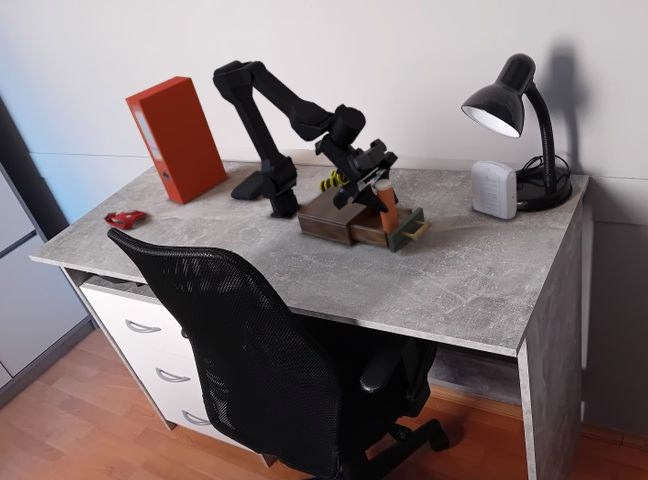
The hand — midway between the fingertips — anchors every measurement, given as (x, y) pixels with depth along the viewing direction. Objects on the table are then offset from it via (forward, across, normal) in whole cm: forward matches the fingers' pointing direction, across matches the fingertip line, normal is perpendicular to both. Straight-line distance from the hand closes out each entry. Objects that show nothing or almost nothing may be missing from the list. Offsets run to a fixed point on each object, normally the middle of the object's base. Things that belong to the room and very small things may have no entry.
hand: (392, 207), depth 119 cm
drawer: (+4, 0, +6) cm, 7 cm away
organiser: (-6, 0, +17) cm, 18 cm away
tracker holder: (-53, -22, +65) cm, 87 cm away
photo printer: (+17, +17, -5) cm, 25 cm away
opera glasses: (-16, +15, +28) cm, 35 cm away
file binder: (-48, +1, +60) cm, 77 cm away
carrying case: (-33, +7, +45) cm, 56 cm away
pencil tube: (+3, 0, +5) cm, 6 cm away
